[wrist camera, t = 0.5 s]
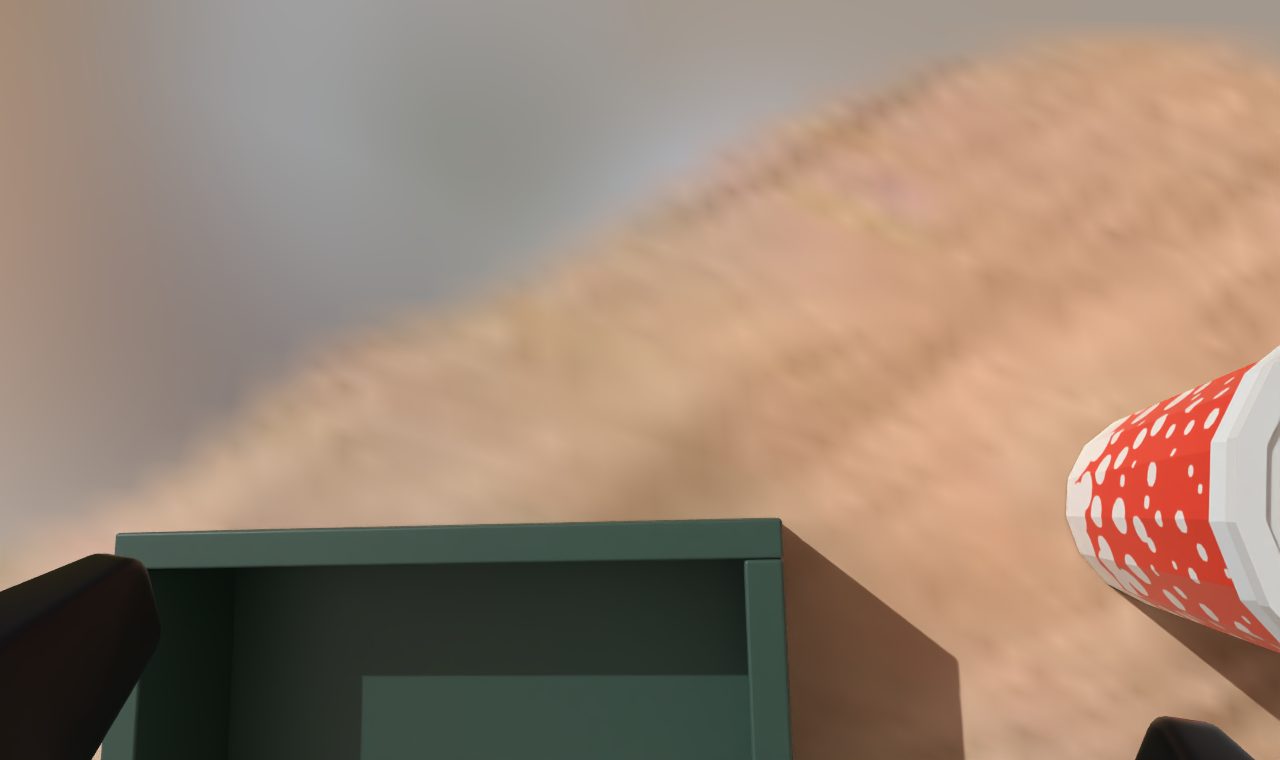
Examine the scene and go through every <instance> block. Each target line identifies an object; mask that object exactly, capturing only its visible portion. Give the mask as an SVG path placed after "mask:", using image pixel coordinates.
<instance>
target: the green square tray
mask: <svg viewBox="0 0 1280 760" xmlns="http://www.w3.org/2000/svg"><path fill="white" fill-rule="evenodd" d="M115 555H118V556H125V557H131V558H135V559H137V560H140V561H141V562H142V563H143V565H144V566H145V567H146V569H147V571H148V575H149V578H150V582H151V586H152V590H153V593H154V597H155V601H156V605H157V608H158V612H159V616H160V620H161V625H162V629H161V637H160V642H159V644H158V647H157V650H156V652H155V654H154V655H153V657H152V659H151V660H150V662H149V664H148V666H147V667H146V669H145V671H144V672H143V674H142V676H141V677H140V679H139V681H138V682H137V684H136V686H135V687H134V689H133V691H132V692H131V694H130V696H129V697H128V699H127V701H126V703H125V704H124V706H123V708H122V709H121V711H120V713H119V714H118V716H117V718H116V719H115V721H114V723H113V724H112V726H111V728H110V729H109V731H108V733H107V734H106V736H105V738H104V740H103V741H102V751H101V760H793V751H792V730H791V708H790V687H789V666H788V645H787V623H786V602H785V581H784V563H783V560H782V559H781V558H782V557H783V537H782V521H781V519H779V518H742V519H698V520H653V521H609V522H565V523H520V524H476V525H432V526H388V527H343V528H299V529H255V530H213V531H178V532H142V533H119V534H117V535H116V544H115Z"/></svg>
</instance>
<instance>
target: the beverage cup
mask: <svg viewBox="0 0 1280 760" xmlns="http://www.w3.org/2000/svg"><path fill="white" fill-rule="evenodd" d="M1066 517H1067V520H1068V523H1069V526H1070V528H1071V531H1072V534H1073V536H1074V539H1075V542H1076V544H1077V547H1078V550H1079V552H1080V554H1081V555H1082V556H1083V557H1084V558H1085V560H1086V561H1087V562H1088V563H1089V564H1090V565H1091V566H1092V567H1093V569H1094V570H1095V571H1096V572H1097V573H1098V574H1099V575H1100V576H1101V577H1102V579H1103V580H1104V581H1105V582H1106V583H1107V584H1109V585H1111V586H1112V587H1114V588H1116V589H1118V590H1120V591H1122V592H1124V593H1126V594H1128V595H1130V596H1132V597H1134V598H1135V599H1137V600H1139V601H1141V602H1143V603H1145V604H1148V605H1151V606H1153V607H1156V608H1159V609H1162V610H1164V611H1167V612H1170V613H1172V614H1175V615H1178V616H1180V617H1183V618H1186V619H1189V620H1191V621H1194V622H1197V623H1199V624H1202V625H1205V626H1207V627H1210V628H1213V629H1216V630H1218V631H1221V632H1224V633H1226V634H1229V635H1232V636H1234V637H1237V638H1240V639H1243V640H1245V641H1248V642H1251V643H1253V644H1256V645H1259V646H1261V647H1264V648H1267V649H1270V650H1272V651H1275V652H1278V653H1280V345H1279V346H1278V347H1277V348H1275V349H1274V350H1273V351H1272V352H1270V353H1269V354H1268V355H1267V356H1265V357H1264V358H1263V359H1262V360H1261V361H1259V362H1256V363H1254V364H1251V365H1249V366H1247V367H1244V368H1242V369H1239V370H1237V371H1235V372H1232V373H1230V374H1227V375H1225V376H1223V377H1220V378H1218V379H1215V380H1213V381H1211V382H1208V383H1206V384H1204V385H1201V386H1199V387H1196V388H1194V389H1192V390H1189V391H1187V392H1184V393H1182V394H1180V395H1177V396H1175V397H1172V398H1170V399H1168V400H1165V401H1163V402H1160V403H1158V404H1156V405H1153V406H1151V407H1148V408H1146V409H1144V410H1141V411H1139V412H1136V413H1134V414H1132V415H1129V416H1127V417H1125V418H1122V419H1120V420H1117V421H1115V422H1113V423H1112V424H1110V425H1109V426H1108V427H1107V428H1106V429H1104V430H1103V431H1102V432H1101V433H1099V434H1098V435H1097V436H1096V437H1094V438H1093V439H1092V440H1091V441H1090V442H1088V443H1087V444H1086V445H1085V446H1084V447H1083V449H1082V451H1081V453H1080V455H1079V457H1078V459H1077V461H1076V463H1075V465H1074V467H1073V469H1072V471H1071V473H1070V475H1069V477H1068V485H1067V506H1066Z"/></svg>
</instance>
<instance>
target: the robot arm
mask: <svg viewBox="0 0 1280 760" xmlns="http://www.w3.org/2000/svg"><path fill="white" fill-rule="evenodd" d="M161 629H162V625H161V620H160V616H159V612H158V608H157V605H156V601H155V597H154V593H153V590H152V586H151V582H150V578H149V575H148V571H147V569H146V567H145V566H144V565H143V563H142V562H141V561H140V560H137V559H135V558H131V557H125V556H118V555H112V554H93V555H90V556H87V557H85V558H82V559H80V560H77V561H75V562H72V563H70V564H67V565H65V566H63V567H60V568H58V569H55V570H53V571H50V572H48V573H45V574H43V575H40V576H38V577H35V578H33V579H31V580H28V581H26V582H23V583H21V584H18V585H16V586H13V587H11V588H8V589H6V590H3V591H1V592H0V760H92V758H93V756H94V755H95V753H96V751H97V750H98V748H99V746H100V745H101V743H102V741H103V740H104V738H105V736H106V734H107V733H108V731H109V729H110V728H111V726H112V724H113V723H114V721H115V719H116V718H117V716H118V714H119V713H120V711H121V709H122V708H123V706H124V704H125V703H126V701H127V699H128V697H129V696H130V694H131V692H132V691H133V689H134V687H135V686H136V684H137V682H138V681H139V679H140V677H141V676H142V674H143V672H144V671H145V669H146V667H147V666H148V664H149V662H150V660H151V659H152V657H153V655H154V654H155V652H156V650H157V647H158V644H159V642H160V637H161ZM1135 760H1255V759H1253V758H1252V757H1251V756H1250V755H1249V754H1248V753H1247V752H1246V751H1244V750H1243V749H1242V748H1241V747H1240V746H1239V745H1238V744H1237V743H1235V742H1234V741H1233V740H1232V739H1231V738H1230V737H1229V736H1228V735H1226V734H1225V733H1224V732H1223V731H1221V730H1220V729H1219V728H1218V727H1216V726H1214V725H1212V724H1209V723H1206V722H1201V721H1194V720H1188V719H1181V718H1175V717H1168V716H1164V717H1158V718H1156V719H1155V720H1154V721H1153V722H1152V723H1151V724H1150V726H1149V728H1148V730H1147V732H1146V734H1145V737H1144V739H1143V742H1142V744H1141V747H1140V749H1139V751H1138V754H1137V756H1136V759H1135Z"/></svg>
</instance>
